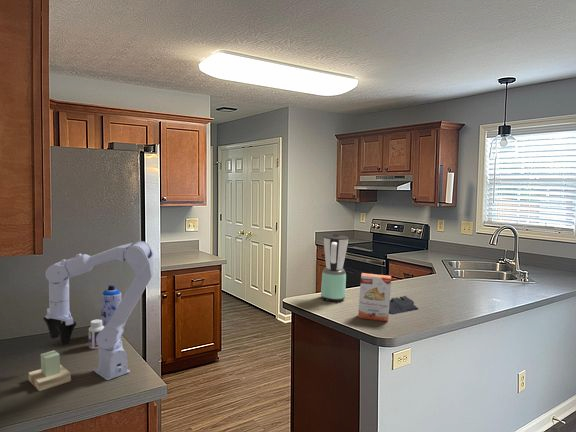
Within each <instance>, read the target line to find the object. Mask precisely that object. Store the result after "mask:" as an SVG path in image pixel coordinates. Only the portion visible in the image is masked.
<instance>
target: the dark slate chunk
mask: <svg viewBox="0 0 576 432" xmlns="http://www.w3.org/2000/svg"><path fill="white" fill-rule="evenodd" d="M417 310H419V308H418V307H417V306H416V305H415V302H414V301H413V300H412V299H410V298H409V297H408V296H406V295H404V296H399V297H390V303H389V315H397V314H402V313H407V312H413V311H417Z"/></svg>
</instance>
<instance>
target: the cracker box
mask: <svg viewBox="0 0 576 432" xmlns="http://www.w3.org/2000/svg"><path fill="white" fill-rule="evenodd" d="M391 285H392V276H391V275H387V274H386V275H384V274H376V273H375V274H374V273H365V272H361V276H360V287H359V299H358V301H359V302H358V315H357V318H358V319H365V320H366V319H367V320H373V321H381V322H389V315H390V314H389V303H390V300H391V287H392V286H391Z"/></svg>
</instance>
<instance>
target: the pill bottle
mask: <svg viewBox="0 0 576 432" xmlns="http://www.w3.org/2000/svg"><path fill="white" fill-rule="evenodd" d="M103 328H104V326H103V325H102V320H101V318H100V319H99V318H98V319H93V320H91V321H90V327H89V328H88V348H89V349H91V350H98V347H99V346H98V345H97V343H96V337H97V335H98V333H99V332H101V331H102V329H103Z"/></svg>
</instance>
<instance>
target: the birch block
mask: <svg viewBox="0 0 576 432" xmlns="http://www.w3.org/2000/svg"><path fill="white" fill-rule="evenodd" d="M28 381H29V382H30V384H32V385H33V387H34V388H36V389H37V391H39V392H41V391H43V390H48V389H51V388H53V387H57V386H59V385H63V384H66V383H69V382H71V381H72V373H71V372H70V371H69V370H68V369H66V368H65V367H64V366H63V365H62V364H60V373H57V374H54V375H51V376H48V377H46V376H45V375H43V374H42V373H41V368H40V369H36V370H33V371H28Z"/></svg>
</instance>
